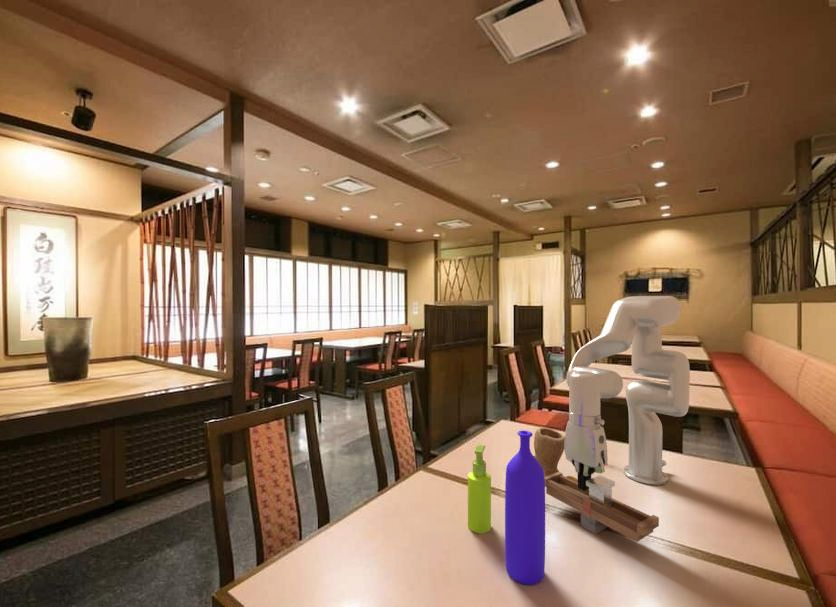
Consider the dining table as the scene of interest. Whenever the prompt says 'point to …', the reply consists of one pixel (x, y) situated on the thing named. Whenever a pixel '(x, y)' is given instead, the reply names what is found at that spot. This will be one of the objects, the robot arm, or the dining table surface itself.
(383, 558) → the dining table surface
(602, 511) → the beam
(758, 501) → the dining table surface
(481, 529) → the soap dispenser
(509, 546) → the bottle
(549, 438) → the stone cup
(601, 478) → the rider
